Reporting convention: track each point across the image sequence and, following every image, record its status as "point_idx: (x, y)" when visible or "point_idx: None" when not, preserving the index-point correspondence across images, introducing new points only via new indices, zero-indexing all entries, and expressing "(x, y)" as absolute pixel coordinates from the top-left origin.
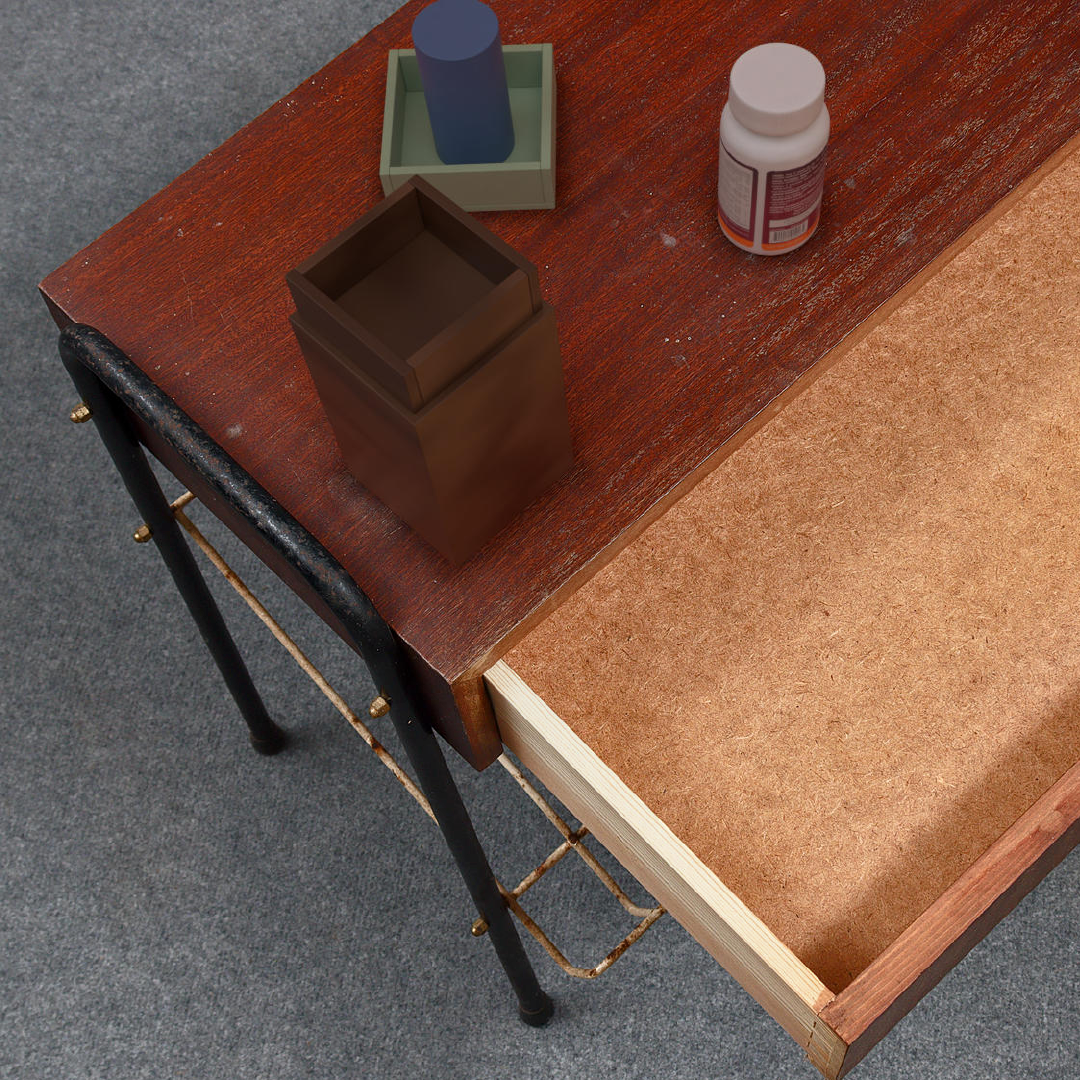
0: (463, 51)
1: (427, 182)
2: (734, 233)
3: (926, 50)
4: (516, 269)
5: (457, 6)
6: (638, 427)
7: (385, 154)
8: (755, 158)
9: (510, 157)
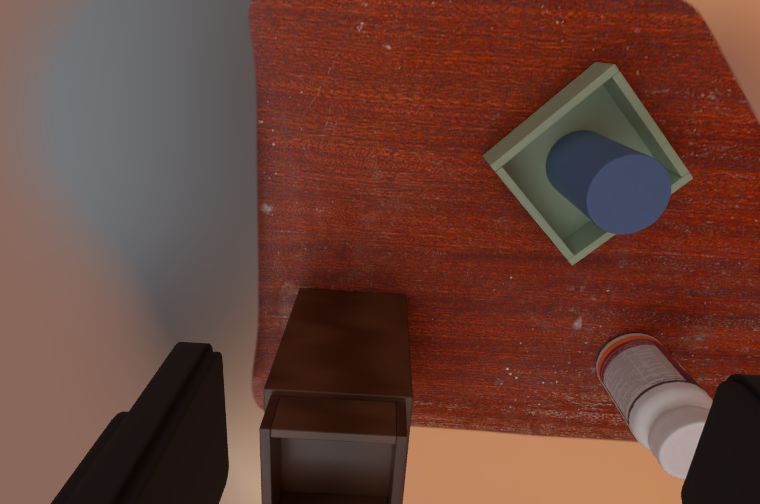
0: (607, 221)
1: (405, 448)
2: (600, 367)
3: None
4: None
5: (654, 178)
6: (443, 392)
7: (510, 154)
8: (633, 430)
9: None
